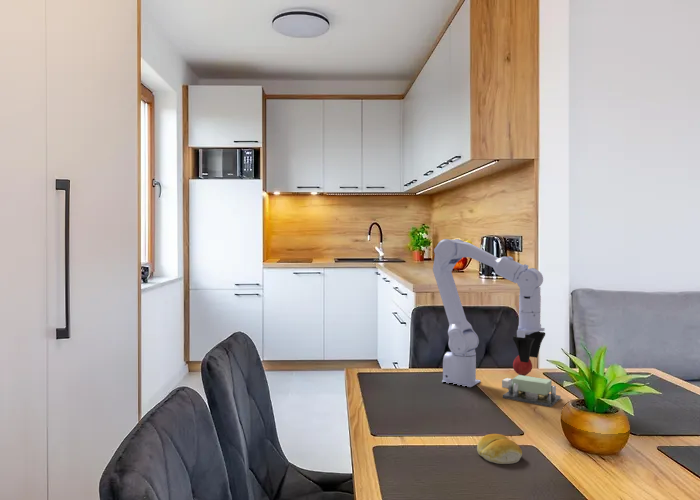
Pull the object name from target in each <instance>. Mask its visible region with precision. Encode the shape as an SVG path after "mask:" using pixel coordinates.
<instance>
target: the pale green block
mask: <svg viewBox="0 0 700 500" xmlns="http://www.w3.org/2000/svg"><path fill="white" fill-rule="evenodd" d="M512 379H513V389H514V383H517V384H519V385H518V390H519V391H525V392H531V393H536V394H542V395H547V394H548V393H549V394H551V386H553V383H552V379H548V378H540V377H534V376H529V375H526V376H523V375H519V374H517V375H516V376H515V377H513V378H512Z"/></svg>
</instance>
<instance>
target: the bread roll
mask: <svg viewBox="0 0 700 500" xmlns="http://www.w3.org/2000/svg"><path fill="white" fill-rule="evenodd" d="M476 450H477V453H478V455H479V456H480V457H482V458H483V459H484V460H485V461H488V462H489V463H494V464H498V465H499V464H500V465H508V464H509V465H511V464H516V463H518V462H519V461H520V460H521V458H522V455H523V451H522V448H521V447H520V445H519V444H518V443H516V442H515V441H514V440H512V439H510V438H508V437H507V436H506V435H504V434H501V433H500V434H499V433H490V434H485V435H484V436H482V437H481V438H480V440H479V441H478V442H477V445H476Z"/></svg>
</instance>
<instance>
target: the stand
mask: <svg viewBox="0 0 700 500" xmlns="http://www.w3.org/2000/svg"><path fill="white" fill-rule="evenodd" d="M509 379H511V378H509V377H506V378H504V379H502V380H501V388H506V389H509Z"/></svg>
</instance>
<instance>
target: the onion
mask: <svg viewBox="0 0 700 500" xmlns="http://www.w3.org/2000/svg"><path fill="white" fill-rule="evenodd" d="M512 368H513V370H514V372H515V373H516V374H517V375H523V376H528V374H530V373H531V371H532V370H533V363H532V360H531V359H530V358H529V362H528V363H527V362H521V361H520V358H519V354H518V355H516V357H514V359H513V362H512Z"/></svg>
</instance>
